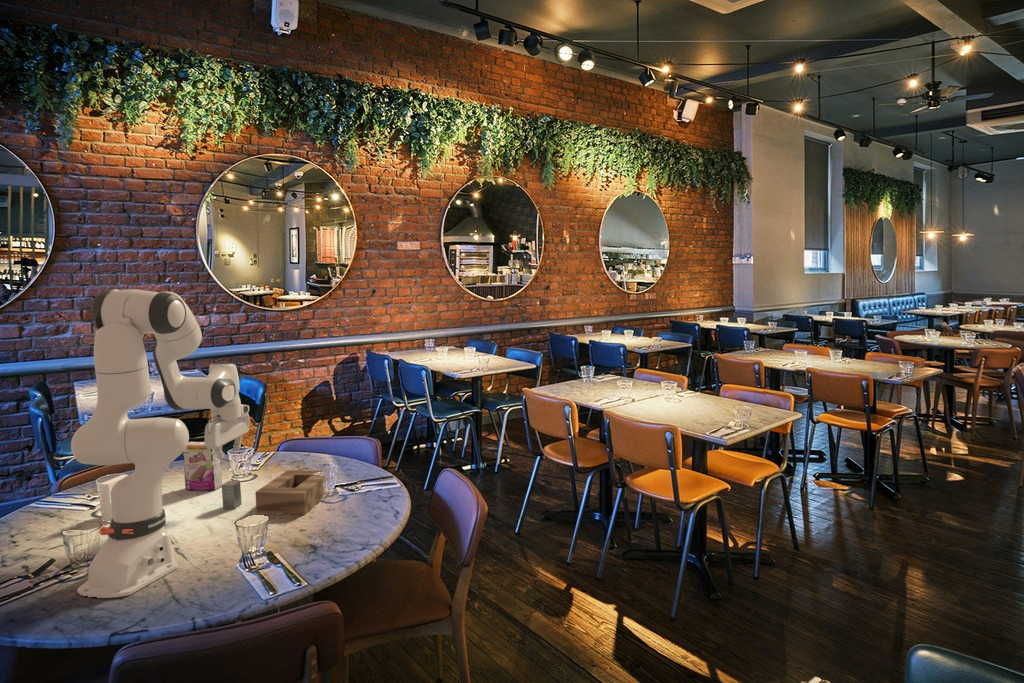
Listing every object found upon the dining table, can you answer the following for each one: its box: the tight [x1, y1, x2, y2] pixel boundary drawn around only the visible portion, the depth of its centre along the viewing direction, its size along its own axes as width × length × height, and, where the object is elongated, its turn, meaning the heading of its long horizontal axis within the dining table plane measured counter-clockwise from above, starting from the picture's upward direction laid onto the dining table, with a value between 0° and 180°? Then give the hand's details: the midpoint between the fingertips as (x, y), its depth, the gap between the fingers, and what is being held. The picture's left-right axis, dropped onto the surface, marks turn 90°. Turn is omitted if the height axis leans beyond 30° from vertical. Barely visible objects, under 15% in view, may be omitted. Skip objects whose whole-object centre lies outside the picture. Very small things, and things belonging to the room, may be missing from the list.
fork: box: [168, 534, 198, 565], centre depth 169 cm, size 3×24×2 cm, turn 46°
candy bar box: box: [182, 441, 223, 492], centre depth 219 cm, size 11×5×16 cm, turn 84°
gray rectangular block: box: [221, 480, 242, 510], centre depth 201 cm, size 4×4×8 cm
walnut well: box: [255, 469, 325, 515], centre depth 205 cm, size 22×16×7 cm
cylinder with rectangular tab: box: [99, 474, 129, 522], centre depth 195 cm, size 9×9×12 cm
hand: (229, 453), depth 200 cm, fingers open, 8 cm apart
